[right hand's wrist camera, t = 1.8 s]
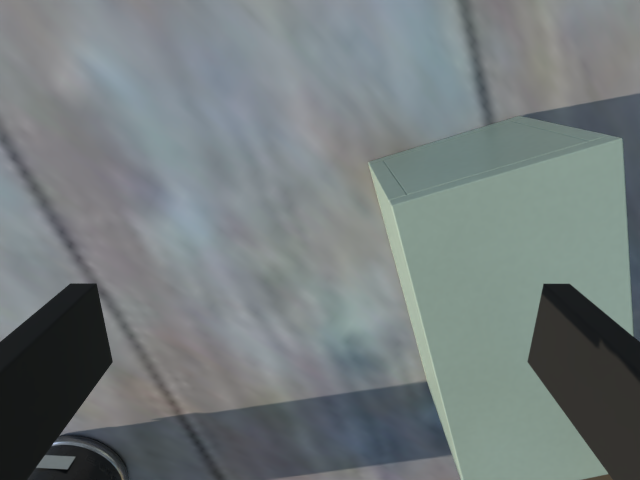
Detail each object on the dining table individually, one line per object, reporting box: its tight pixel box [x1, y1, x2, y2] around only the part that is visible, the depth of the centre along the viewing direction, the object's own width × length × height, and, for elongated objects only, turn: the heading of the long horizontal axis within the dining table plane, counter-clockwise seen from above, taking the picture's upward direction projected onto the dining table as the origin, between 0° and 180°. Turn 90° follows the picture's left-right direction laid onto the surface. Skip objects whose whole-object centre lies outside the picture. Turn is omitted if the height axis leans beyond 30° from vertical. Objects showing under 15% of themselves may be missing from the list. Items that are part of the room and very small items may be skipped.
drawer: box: [583, 474, 613, 480], centre depth 31 cm, size 26×10×9 cm, turn 17°
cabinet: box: [368, 116, 634, 480], centre depth 29 cm, size 21×11×11 cm, turn 17°
